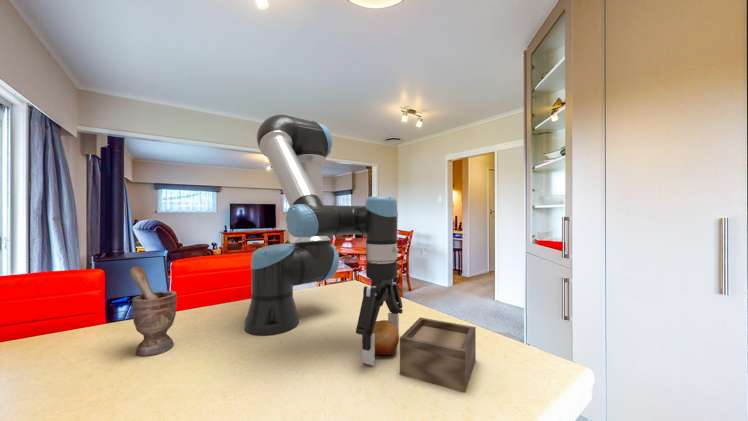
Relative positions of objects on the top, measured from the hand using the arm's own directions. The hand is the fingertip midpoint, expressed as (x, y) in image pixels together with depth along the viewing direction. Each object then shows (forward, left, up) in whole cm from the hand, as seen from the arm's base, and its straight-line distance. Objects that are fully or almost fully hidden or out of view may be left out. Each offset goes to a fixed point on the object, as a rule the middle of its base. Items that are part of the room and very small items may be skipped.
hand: (382, 350), depth 69 cm
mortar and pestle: (-51, -25, -1) cm, 57 cm away
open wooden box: (+14, 0, 0) cm, 14 cm away
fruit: (0, 0, -1) cm, 1 cm away
